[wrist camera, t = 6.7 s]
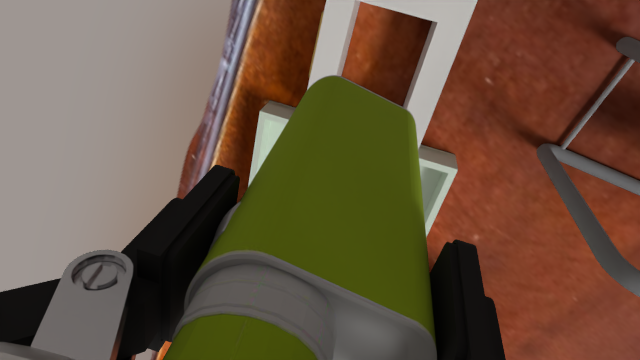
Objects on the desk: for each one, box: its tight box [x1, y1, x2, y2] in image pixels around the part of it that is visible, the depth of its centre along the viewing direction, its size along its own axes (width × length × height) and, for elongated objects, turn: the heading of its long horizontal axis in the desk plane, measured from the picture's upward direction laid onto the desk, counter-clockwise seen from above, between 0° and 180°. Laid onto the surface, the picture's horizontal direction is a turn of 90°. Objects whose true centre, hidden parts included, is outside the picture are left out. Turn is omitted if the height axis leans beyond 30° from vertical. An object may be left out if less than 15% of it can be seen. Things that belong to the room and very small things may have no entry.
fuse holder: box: [307, 0, 478, 149], centre depth 33 cm, size 13×10×4 cm
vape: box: [163, 75, 437, 360], centre depth 12 cm, size 4×6×20 cm, turn 66°
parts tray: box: [248, 100, 458, 237], centre depth 42 cm, size 20×18×3 cm
